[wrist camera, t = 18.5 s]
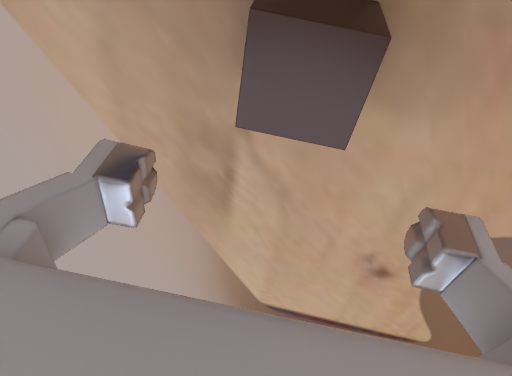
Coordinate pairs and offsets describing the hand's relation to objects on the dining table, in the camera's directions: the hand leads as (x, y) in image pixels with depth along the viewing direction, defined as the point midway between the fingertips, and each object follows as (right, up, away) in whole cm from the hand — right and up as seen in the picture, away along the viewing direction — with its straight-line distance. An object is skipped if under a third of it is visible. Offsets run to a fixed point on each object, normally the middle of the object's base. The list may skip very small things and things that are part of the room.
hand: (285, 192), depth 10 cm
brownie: (+2, +7, +8) cm, 11 cm away
